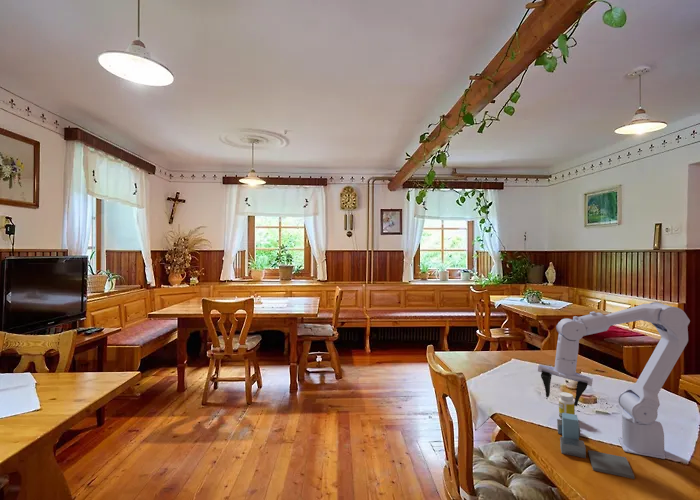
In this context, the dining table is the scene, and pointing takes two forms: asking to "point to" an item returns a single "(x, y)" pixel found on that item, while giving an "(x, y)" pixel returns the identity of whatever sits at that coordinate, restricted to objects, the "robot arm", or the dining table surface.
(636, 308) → the robot arm
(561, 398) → the supplement bottle
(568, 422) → the peg
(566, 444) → the vise
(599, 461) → the pad
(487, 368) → the dining table surface
